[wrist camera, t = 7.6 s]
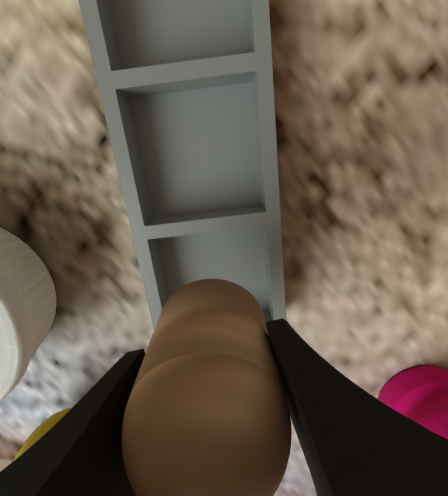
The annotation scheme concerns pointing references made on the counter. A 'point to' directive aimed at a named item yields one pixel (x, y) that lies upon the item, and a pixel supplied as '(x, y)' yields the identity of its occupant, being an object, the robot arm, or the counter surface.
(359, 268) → the counter surface
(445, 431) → the pepper mill
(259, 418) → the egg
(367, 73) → the counter surface
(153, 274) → the tray
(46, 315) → the ramekin
